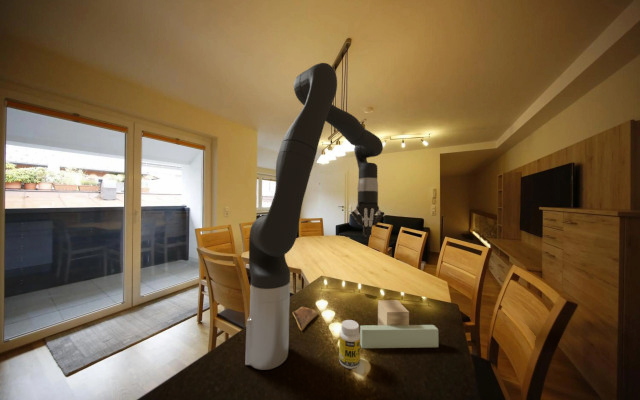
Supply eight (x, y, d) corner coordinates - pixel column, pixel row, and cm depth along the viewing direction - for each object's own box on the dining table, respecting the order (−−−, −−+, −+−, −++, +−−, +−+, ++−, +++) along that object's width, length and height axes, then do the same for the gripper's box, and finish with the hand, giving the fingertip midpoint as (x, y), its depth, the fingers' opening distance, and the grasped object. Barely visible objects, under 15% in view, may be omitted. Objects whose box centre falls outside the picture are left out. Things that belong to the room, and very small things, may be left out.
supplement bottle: (343, 371, 44) (344, 331, 44) (336, 356, 49) (336, 320, 49) (363, 367, 45) (364, 328, 46) (354, 352, 50) (354, 317, 50)
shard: (301, 333, 58) (301, 327, 58) (279, 326, 61) (279, 320, 61) (318, 316, 67) (319, 310, 68) (299, 310, 71) (299, 305, 71)
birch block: (386, 342, 54) (387, 312, 54) (377, 327, 61) (378, 300, 61) (408, 342, 54) (408, 311, 55) (397, 327, 61) (397, 300, 62)
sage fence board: (361, 348, 52) (362, 330, 52) (359, 343, 54) (360, 325, 54) (438, 347, 53) (438, 329, 53) (433, 342, 55) (433, 324, 55)
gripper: (352, 189, 74) (351, 237, 73) (388, 190, 74) (388, 238, 74) (348, 191, 81) (348, 235, 80) (381, 192, 82) (380, 235, 81)
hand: (367, 236), depth 77 cm, fingers closed
